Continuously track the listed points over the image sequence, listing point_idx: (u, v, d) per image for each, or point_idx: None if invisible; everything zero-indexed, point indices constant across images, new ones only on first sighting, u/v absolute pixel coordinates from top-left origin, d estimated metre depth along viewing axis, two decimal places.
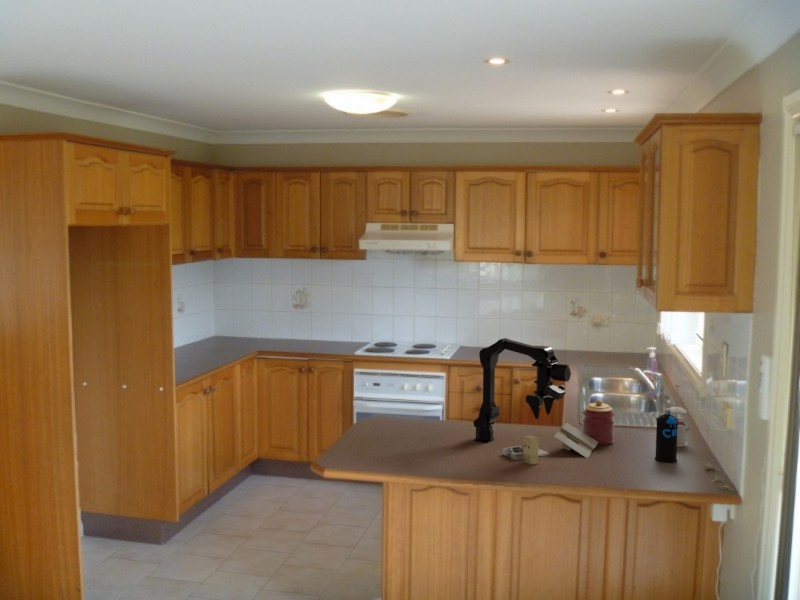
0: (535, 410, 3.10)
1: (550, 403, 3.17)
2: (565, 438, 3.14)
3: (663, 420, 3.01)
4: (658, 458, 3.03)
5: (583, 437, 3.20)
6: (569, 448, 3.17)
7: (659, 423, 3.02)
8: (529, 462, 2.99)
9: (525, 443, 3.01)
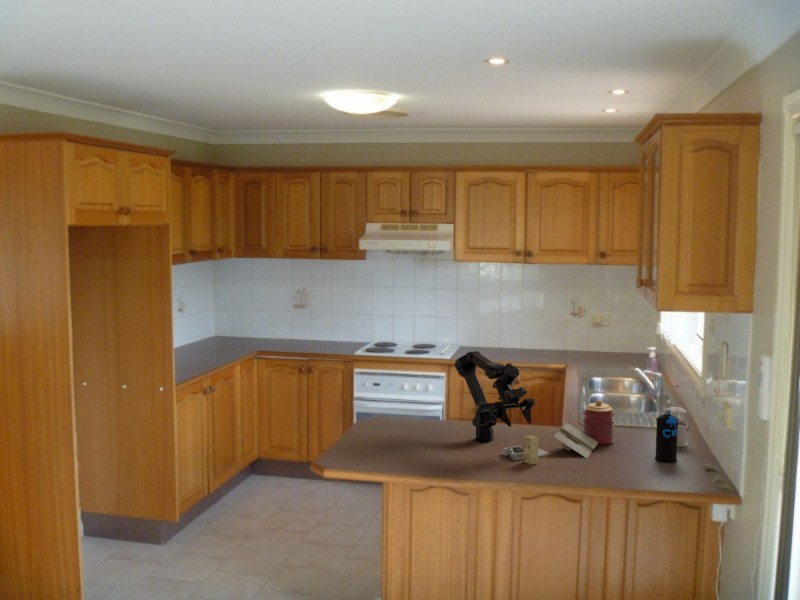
0: (504, 418, 3.06)
1: (527, 412, 3.11)
2: (565, 438, 3.14)
3: (663, 420, 3.01)
4: (658, 458, 3.03)
5: (583, 437, 3.19)
6: (569, 448, 3.16)
7: (659, 423, 3.02)
8: (529, 462, 2.99)
9: (525, 443, 3.01)
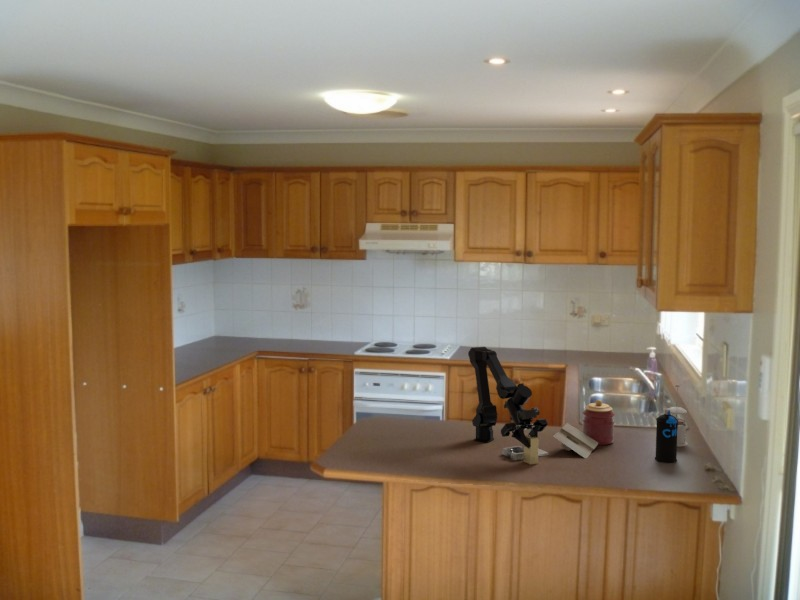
0: (522, 439, 3.00)
1: (534, 434, 3.02)
2: (564, 438, 3.14)
3: (663, 420, 3.01)
4: (658, 458, 3.03)
5: (583, 438, 3.19)
6: (569, 448, 3.16)
7: (659, 423, 3.02)
8: (529, 462, 2.99)
9: None
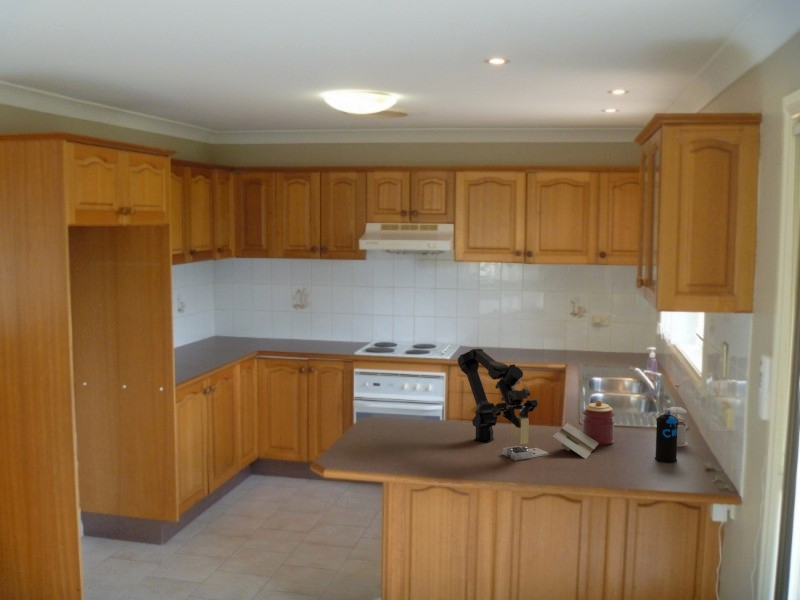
0: (512, 419, 3.05)
1: (524, 414, 3.08)
2: (564, 438, 3.13)
3: (663, 420, 3.01)
4: (658, 458, 3.03)
5: (584, 438, 3.18)
6: (569, 448, 3.16)
7: (659, 423, 3.02)
8: (519, 442, 3.04)
9: None
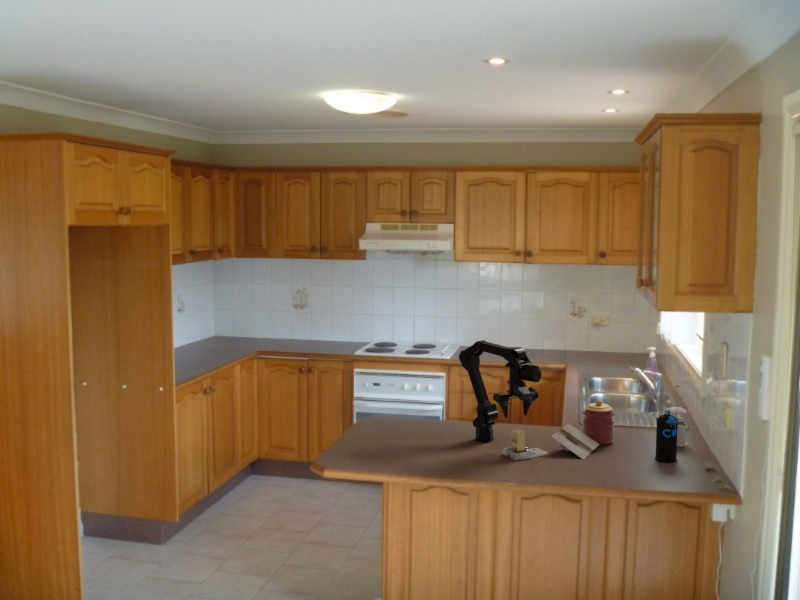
0: (503, 409, 3.16)
1: (527, 404, 3.20)
2: (563, 439, 3.13)
3: (663, 420, 3.01)
4: (658, 458, 3.03)
5: (584, 439, 3.17)
6: (568, 449, 3.15)
7: (659, 423, 3.02)
8: None
9: (512, 437, 3.09)
